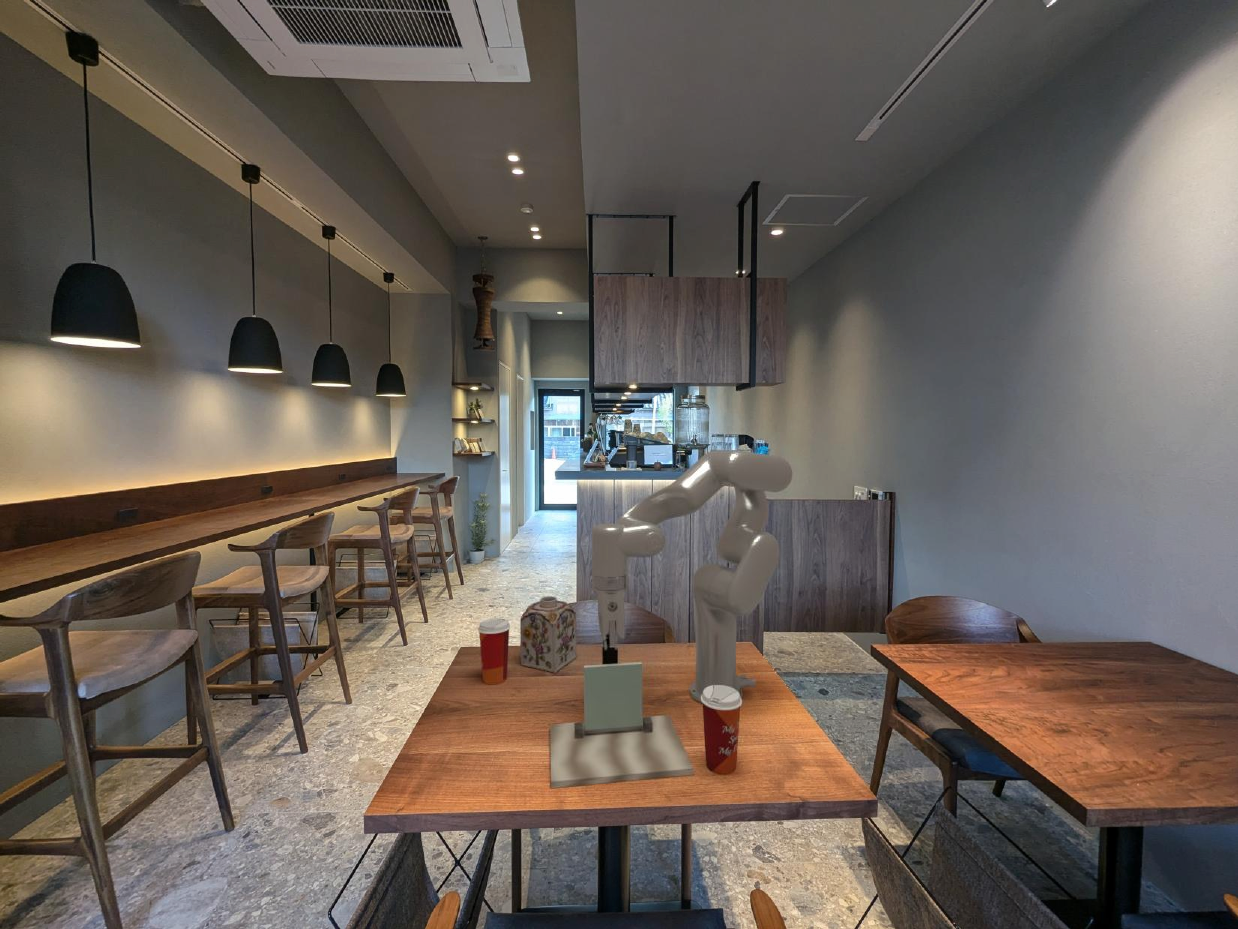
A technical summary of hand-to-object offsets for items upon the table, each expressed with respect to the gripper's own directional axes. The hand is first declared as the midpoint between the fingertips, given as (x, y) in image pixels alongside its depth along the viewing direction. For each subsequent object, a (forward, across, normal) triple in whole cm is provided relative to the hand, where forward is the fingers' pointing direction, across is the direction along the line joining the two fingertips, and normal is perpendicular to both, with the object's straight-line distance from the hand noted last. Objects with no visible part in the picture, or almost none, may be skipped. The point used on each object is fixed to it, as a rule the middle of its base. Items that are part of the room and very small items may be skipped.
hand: (610, 666), depth 112 cm
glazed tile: (+11, -5, 0) cm, 12 cm away
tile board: (+13, -10, 0) cm, 16 cm away
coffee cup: (+13, +26, +27) cm, 40 cm away
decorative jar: (+13, +35, +13) cm, 40 cm away
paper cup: (+13, -17, -19) cm, 29 cm away
